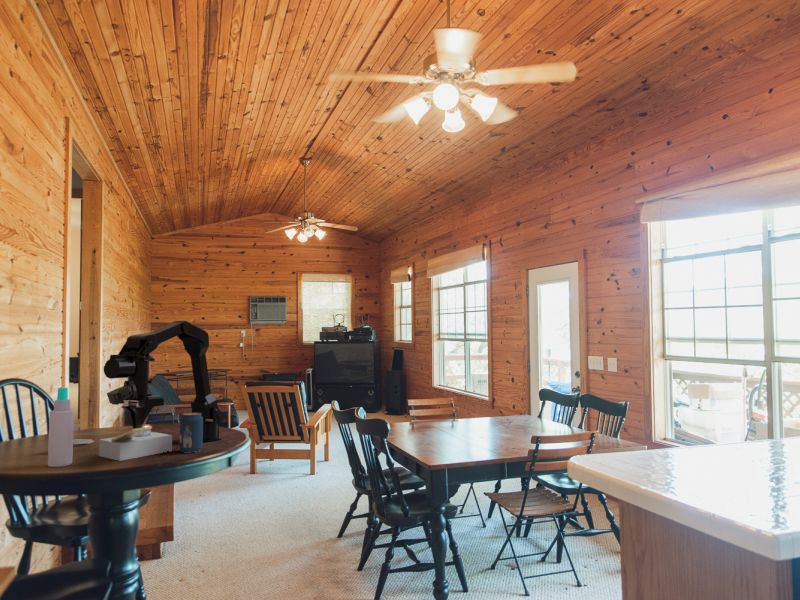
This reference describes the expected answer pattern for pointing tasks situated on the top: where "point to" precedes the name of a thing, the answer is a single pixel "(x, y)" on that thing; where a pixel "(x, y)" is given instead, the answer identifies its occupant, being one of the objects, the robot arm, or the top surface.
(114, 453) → the block
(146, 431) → the steel pin
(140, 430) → the plate
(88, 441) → the caliper
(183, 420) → the soda can
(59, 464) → the spray bottle
